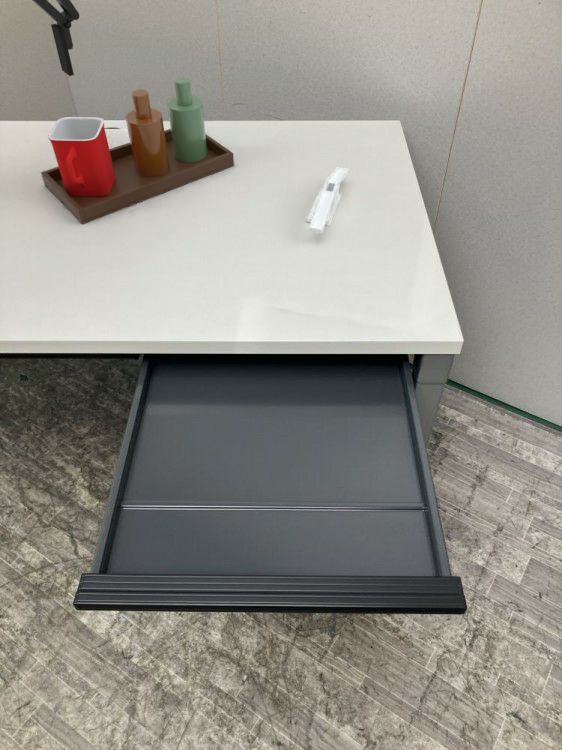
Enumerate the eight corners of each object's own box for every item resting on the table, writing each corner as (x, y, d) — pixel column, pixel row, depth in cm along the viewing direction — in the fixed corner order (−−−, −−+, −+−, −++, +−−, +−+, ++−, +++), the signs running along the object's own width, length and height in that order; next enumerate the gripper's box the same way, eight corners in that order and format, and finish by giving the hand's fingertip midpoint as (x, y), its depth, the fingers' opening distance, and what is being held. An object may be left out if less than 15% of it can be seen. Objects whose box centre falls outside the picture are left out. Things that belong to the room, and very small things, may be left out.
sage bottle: (185, 166, 112) (176, 91, 102) (168, 152, 116) (157, 78, 105) (213, 155, 115) (207, 81, 104) (195, 142, 118) (187, 69, 108)
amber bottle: (146, 180, 109) (132, 104, 98) (129, 166, 112) (114, 91, 102) (176, 169, 111) (165, 94, 101) (158, 156, 115) (146, 81, 104)
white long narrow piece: (297, 240, 98) (298, 211, 94) (326, 178, 111) (328, 151, 107) (321, 244, 97) (323, 216, 93) (347, 182, 110) (350, 154, 106)
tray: (82, 224, 101) (78, 211, 99) (44, 185, 109) (40, 172, 107) (234, 165, 114) (233, 153, 112) (190, 134, 122) (189, 122, 120)
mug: (74, 173, 110) (58, 116, 102) (118, 173, 110) (106, 117, 102) (57, 209, 102) (39, 151, 94) (105, 210, 102) (90, 152, 94)
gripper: (-125, -74, 67) (-50, 113, 82) (80, -99, 77) (112, 72, 93) (-142, -87, 70) (-67, 94, 86) (56, -109, 81) (90, 56, 97)
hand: (26, 83), depth 90 cm, fingers open, 13 cm apart
